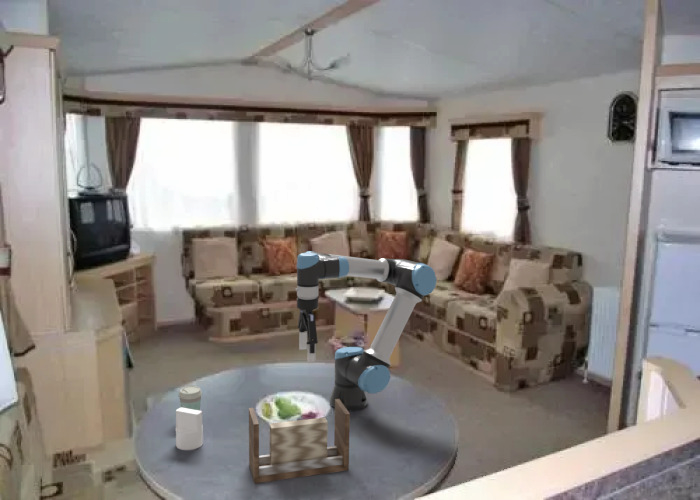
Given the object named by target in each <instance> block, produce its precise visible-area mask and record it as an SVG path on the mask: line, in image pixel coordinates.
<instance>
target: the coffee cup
mask: <svg viewBox="0 0 700 500" xmlns="http://www.w3.org/2000/svg"><path fill="white" fill-rule="evenodd" d="M202 395H203V391H202V389H201V388H200V387H199V386H197V385H195V386H194V385H188V386H184V387H181V389H180V390H179V392H178V397H179V403H180V408H181V407H182V408H188V409H193V410H199V411H201V400H202Z"/></svg>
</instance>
